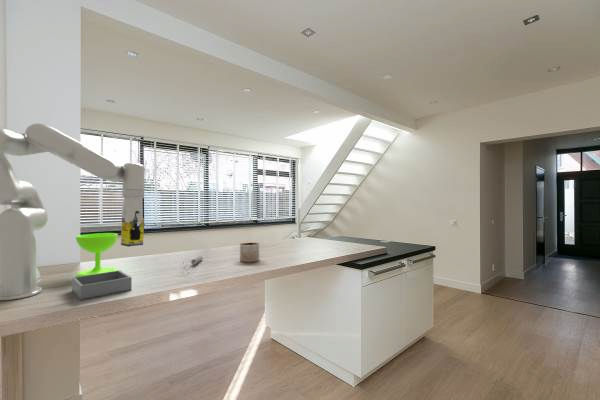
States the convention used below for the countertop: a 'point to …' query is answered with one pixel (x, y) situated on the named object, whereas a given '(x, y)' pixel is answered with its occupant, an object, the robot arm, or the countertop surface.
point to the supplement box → (127, 234)
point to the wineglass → (96, 249)
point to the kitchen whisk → (193, 262)
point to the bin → (100, 284)
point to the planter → (249, 252)
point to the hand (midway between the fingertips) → (132, 238)
